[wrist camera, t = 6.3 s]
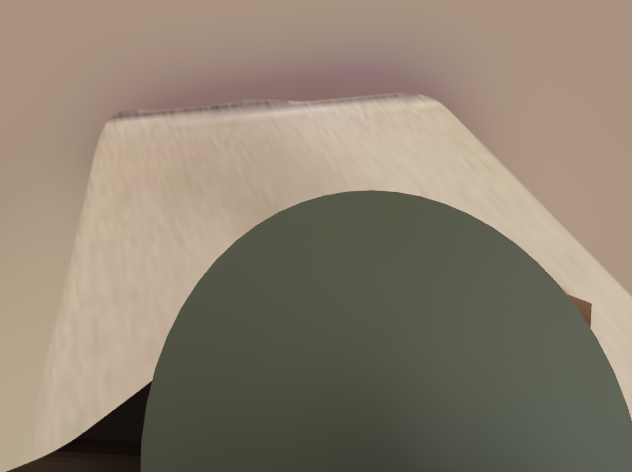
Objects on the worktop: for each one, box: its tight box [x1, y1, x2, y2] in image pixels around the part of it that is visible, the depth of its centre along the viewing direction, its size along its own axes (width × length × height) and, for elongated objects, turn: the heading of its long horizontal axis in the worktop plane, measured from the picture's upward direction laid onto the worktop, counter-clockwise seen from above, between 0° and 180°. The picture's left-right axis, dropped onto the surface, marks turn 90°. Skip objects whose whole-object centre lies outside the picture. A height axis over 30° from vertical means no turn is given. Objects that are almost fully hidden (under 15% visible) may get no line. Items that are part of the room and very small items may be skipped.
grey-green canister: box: [141, 190, 632, 472], centre depth 9 cm, size 5×5×13 cm
